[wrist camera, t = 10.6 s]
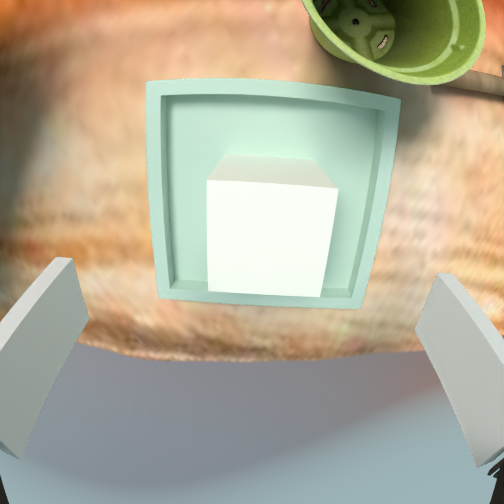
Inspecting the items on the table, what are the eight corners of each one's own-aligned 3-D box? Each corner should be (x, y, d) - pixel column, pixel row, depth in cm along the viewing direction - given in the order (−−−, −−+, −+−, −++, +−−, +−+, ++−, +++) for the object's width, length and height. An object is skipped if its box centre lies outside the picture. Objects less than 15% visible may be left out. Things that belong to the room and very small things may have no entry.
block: (222, 236, 23) (208, 291, 17) (224, 153, 20) (206, 180, 14) (305, 241, 23) (319, 297, 17) (314, 159, 20) (338, 188, 14)
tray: (165, 284, 26) (158, 298, 24) (155, 82, 18) (145, 81, 17) (354, 294, 26) (360, 308, 24) (389, 98, 18) (401, 99, 16)
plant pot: (379, 113, 19) (444, 126, 11) (258, 43, 17) (255, 7, 9) (431, 19, 15) (503, -2, 7) (319, -51, 13) (347, -112, 5)
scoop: (431, 100, 18) (443, 101, 16) (426, 49, 16) (438, 47, 15) (537, 117, 17) (549, 120, 15) (535, 76, 15) (547, 77, 13)
